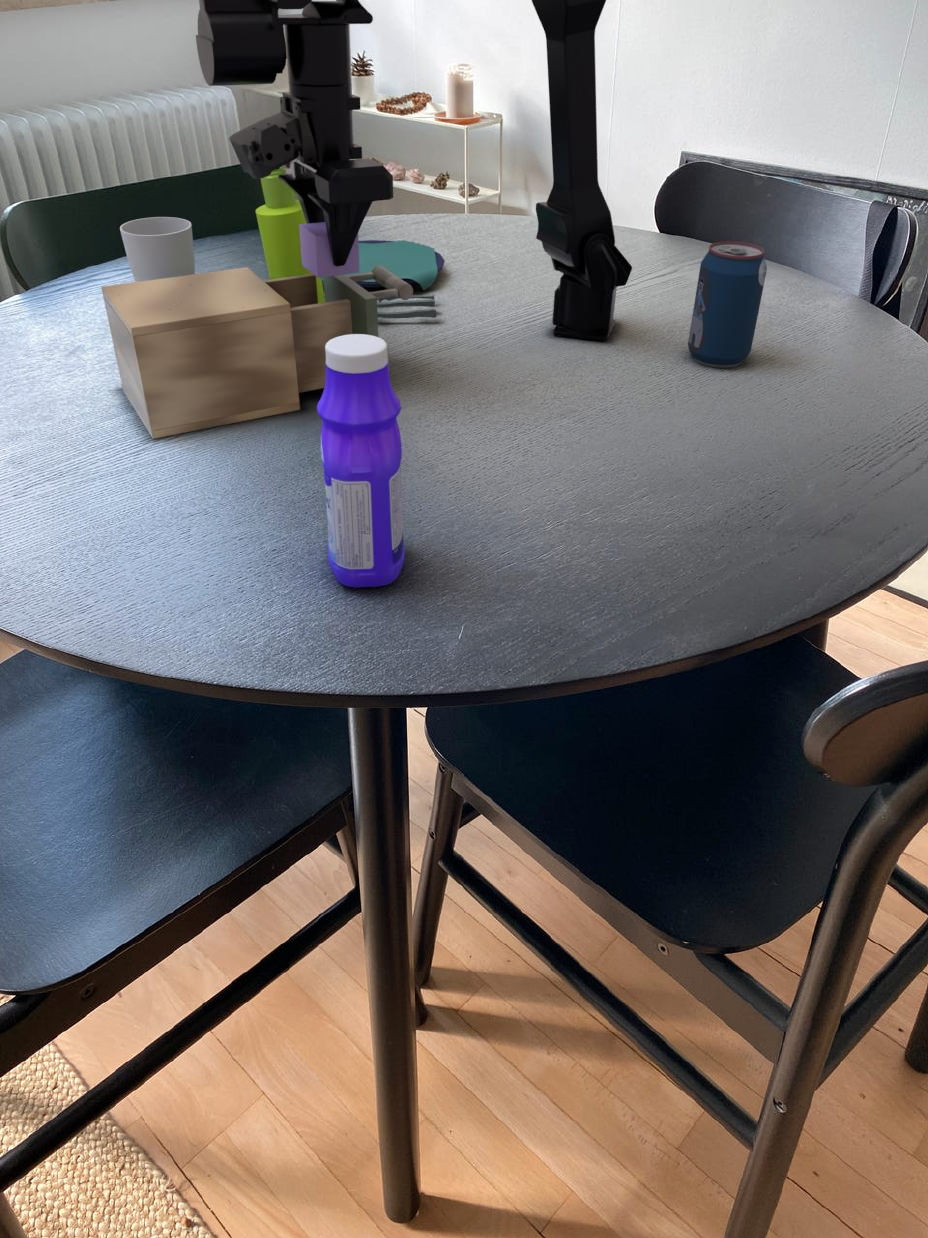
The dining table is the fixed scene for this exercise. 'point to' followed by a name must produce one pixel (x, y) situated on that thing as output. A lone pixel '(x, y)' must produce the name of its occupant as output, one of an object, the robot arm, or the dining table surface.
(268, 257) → the soap dispenser
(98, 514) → the dining table surface
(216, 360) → the wooden drawer box
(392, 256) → the cutlery set
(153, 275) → the cup
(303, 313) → the drawer with grey handle
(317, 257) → the lavender cube block
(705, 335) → the soda can
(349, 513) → the bottle
